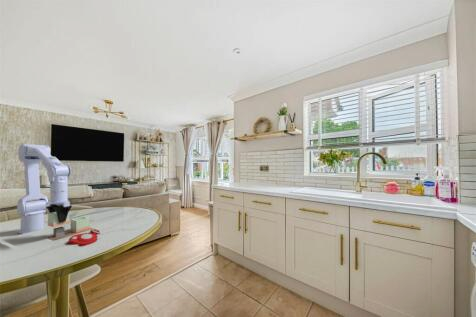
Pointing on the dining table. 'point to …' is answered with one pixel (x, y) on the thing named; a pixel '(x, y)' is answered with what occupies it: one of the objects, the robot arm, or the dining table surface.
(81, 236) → the tracker holder
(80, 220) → the seated sleeve
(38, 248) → the dining table surface
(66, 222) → the sleeve
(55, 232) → the pin board
